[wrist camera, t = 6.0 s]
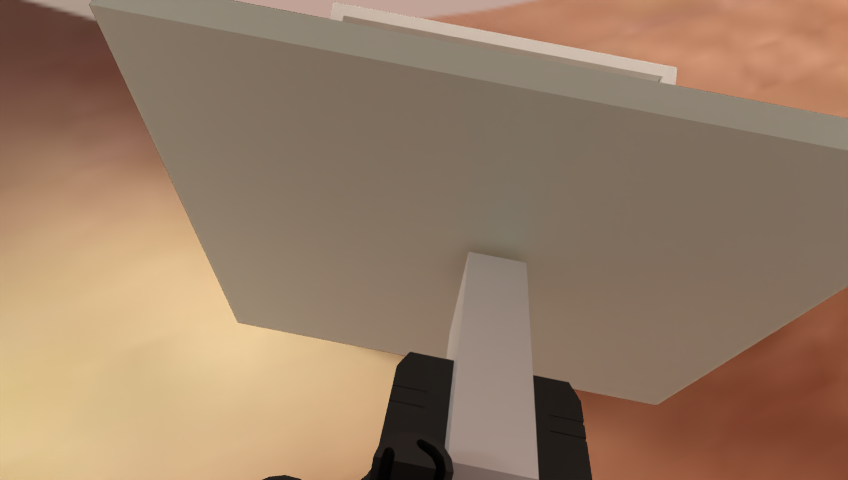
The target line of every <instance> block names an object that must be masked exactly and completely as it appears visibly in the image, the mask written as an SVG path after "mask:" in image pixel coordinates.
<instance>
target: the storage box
mask: <svg viewBox="0 0 848 480" xmlns="http://www.w3.org/2000/svg"><path fill="white" fill-rule="evenodd" d="M329 19H333V20H338V21H343V22H348V23H353V24H359V25H364V26H369V27H374V28H379V29H385V30H390V31H395V32H400V33H405V34H411V35H416V36H421V37H426V38H432V39H437V40H442V41H447V42H452V43H458V44H463V45H468V46H473V47H478V48H484V49H489V50H494V51H499V52H505V53H510V54H515V55H520V56H525V57H531V58H536V59H541V60H546V61H551V62H557V63H562V64H567V65H572V66H577V67H583V68H588V69H593V70H598V71H604V72H609V73H614V74H619V75H624V76H630V77H635V78H640V79H645V80H650V81H656V82H661V83H666V84H671V85H675V84H676V74H677V67H672V66H667V65H661V64H656V63H651V62H646V61H641V60H635V59H630V58H625V57H620V56H614V55H609V54H604V53H599V52H594V51H588V50H583V49H578V48H573V47H568V46H562V45H557V44H552V43H547V42H541V41H536V40H531V39H526V38H521V37H515V36H510V35H505V34H500V33H494V32H489V31H484V30H479V29H474V28H468V27H463V26H458V25H453V24H447V23H442V22H437V21H432V20H427V19H421V18H416V17H411V16H405V15H400V14H395V13H390V12H385V11H380V10H374V9H369V8H364V7H359V6H353V5H348V4H343V3H337V2H333V6H332V10H331V14H330V17H329Z"/></svg>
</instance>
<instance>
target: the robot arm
mask: <svg viewBox="0 0 848 480" xmlns="http://www.w3.org/2000/svg"><path fill="white" fill-rule="evenodd" d="M583 422H584V420H583V413H582V407H581V401H580V400H579V398H578V396H577V395H576V393H575V391H574V390H573V388H572V387H571V385H570V383H569V382H565V381H560V380H555V379H550V378H545V377H540V376H535V375H533V367H532V349H531V332H530V314H529V297H528V279H527V263H525V262H519V261H514V260H509V259H504V258H499V257H494V256H489V255H484V254H479V253H474V252H468V257H467V261H466V265H465V269H464V274H463V278H462V282H461V286H460V291H459V295H458V299H457V303H456V308H455V312H454V316H453V320H452V325H451V329H450V334H449V342H448V350H447V358H446V359H444V358H439V357H434V356H429V355H424V354H419V353H414V352H409V353H408V354H407V355H406V356H405V358H404V359H403V360H402V361H401V362H400V363H399V364H398V365H397V368H396V372H395V377H394V381H393V386H392V390H391V394H390V399H389V403H388V408H387V412H386V416H385V421H384V425H383V430H382V434H381V438H380V443H379V446H378V448H377V450H376V452H375V454H374V457H373V463H372V468H371V470H370V471H369V472H368V474H367V475H366V476H365V477H364V478H362V479H361V480H592V475H591V468H590V461H589V454H588V447H587V442H586V434H585V427H584V425H583ZM263 480H301V479H299V478H294V477H290V476H286V475H282V476H272V477H268V478H265V479H263Z"/></svg>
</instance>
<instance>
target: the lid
mask: <svg viewBox="0 0 848 480" xmlns="http://www.w3.org/2000/svg"><path fill="white" fill-rule="evenodd" d="M89 6H90V8H91V10H92V12H93V14H94V16H95V18H96V21H97V23H98V25H99V27H100V29H101V31H102V33H103V36H104V38H105V40H106V42H107V44H108V46H109V48H110V50H111V53H112V55H113V57H114V59H115V61H116V63H117V65H118V68H119V70H120V72H121V74H122V76H123V78H124V80H125V83H126V85H127V87H128V89H129V91H130V93H131V95H132V97H133V100H134V102H135V104H136V106H137V108H138V110H139V112H140V115H141V117H142V119H143V121H144V123H145V125H146V127H147V130H148V132H149V134H150V136H151V138H152V140H153V142H154V144H155V147H156V149H157V151H158V153H159V155H160V157H161V159H162V162H163V164H164V166H165V168H166V170H167V172H168V174H169V177H170V179H171V181H172V183H173V185H174V187H175V189H176V191H177V194H178V196H179V198H180V200H181V202H182V204H183V206H184V209H185V211H186V213H187V215H188V217H189V219H190V221H191V224H192V226H193V228H194V230H195V232H196V234H197V236H198V238H199V241H200V243H201V245H202V247H203V249H204V251H205V253H206V256H207V258H208V260H209V262H210V264H211V266H212V268H213V271H214V273H215V275H216V277H217V279H218V281H219V283H220V286H221V288H222V290H223V292H224V294H225V296H226V298H227V300H228V303H229V305H230V307H231V309H232V311H233V313H234V315H235V318H236V320H237V322H238V323H242V324H247V325H252V326H257V327H263V328H268V329H273V330H278V331H283V332H288V333H293V334H298V335H303V336H308V337H313V338H318V339H323V340H328V341H333V342H338V343H343V344H349V345H354V346H359V347H364V348H369V349H374V350H379V351H384V352H389V353H394V354H399V355H404V356H406V355H407V354H408V353H409V352H414V353H419V354H424V355H429V356H434V357H439V358H444V359H446V358H447V350H448V342H449V334H450V329H451V325H452V320H453V316H454V312H455V308H456V303H457V299H458V295H459V291H460V286H461V282H462V278H463V274H464V269H465V265H466V261H467V257H468V252H474V253H479V254H484V255H489V256H494V257H499V258H504V259H509V260H514V261H519V262H525V263H527V279H528V297H529V314H530V332H531V349H532V367H533V375H535V376H540V377H545V378H550V379H555V380H560V381H565V382H569V383H570V385H571V387H572V388H573V389H576V390H581V391H586V392H591V393H596V394H601V395H606V396H612V397H617V398H622V399H627V400H632V401H637V402H642V403H647V404H652V405H658V404H660V403H661V402H663V401H664V400H666V399H668V398H669V397H671V396H672V395H674V394H676V393H677V392H679V391H681V390H682V389H684V388H685V387H687V386H689V385H690V384H692V383H693V382H695V381H697V380H698V379H700V378H701V377H703V376H705V375H706V374H708V373H709V372H711V371H713V370H714V369H716V368H717V367H719V366H721V365H722V364H724V363H725V362H727V361H729V360H730V359H732V358H734V357H735V356H737V355H738V354H740V353H742V352H743V351H745V350H746V349H748V348H750V347H751V346H753V345H754V344H756V343H758V342H759V341H761V340H762V339H764V338H766V337H767V336H769V335H770V334H772V333H774V332H775V331H777V330H779V329H780V328H782V327H783V326H785V325H787V324H788V323H790V322H791V321H793V320H795V319H796V318H798V317H799V316H801V315H803V314H804V313H806V312H807V311H809V310H811V309H812V308H814V307H815V306H817V305H819V304H820V303H822V302H823V301H825V300H827V299H828V298H830V297H832V296H833V295H835V294H836V293H838V292H840V291H841V290H843V289H844V288H846V287H848V118H843V117H838V116H833V115H828V114H822V113H817V112H812V111H807V110H802V109H796V108H791V107H786V106H781V105H776V104H770V103H765V102H760V101H755V100H749V99H744V98H739V97H734V96H729V95H723V94H718V93H713V92H708V91H703V90H697V89H692V88H687V87H682V86H677V85H671V84H666V83H661V82H656V81H650V80H645V79H640V78H635V77H630V76H624V75H619V74H614V73H609V72H604V71H598V70H593V69H588V68H583V67H577V66H572V65H567V64H562V63H557V62H551V61H546V60H541V59H536V58H531V57H525V56H520V55H515V54H510V53H505V52H499V51H494V50H489V49H484V48H478V47H473V46H468V45H463V44H458V43H452V42H447V41H442V40H437V39H432V38H426V37H421V36H416V35H411V34H405V33H400V32H395V31H390V30H385V29H379V28H374V27H369V26H364V25H359V24H353V23H348V22H343V21H338V20H333V19H327V18H322V17H317V16H312V15H306V14H301V13H296V12H291V11H286V10H280V9H275V8H270V7H265V6H259V5H254V4H249V3H244V2H238V1H233V0H92V1H91V2H90V4H89Z"/></svg>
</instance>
